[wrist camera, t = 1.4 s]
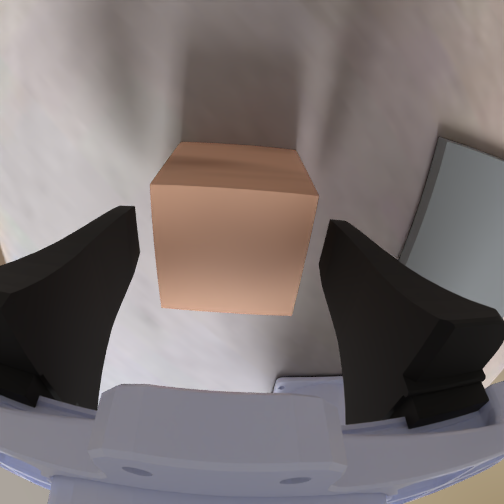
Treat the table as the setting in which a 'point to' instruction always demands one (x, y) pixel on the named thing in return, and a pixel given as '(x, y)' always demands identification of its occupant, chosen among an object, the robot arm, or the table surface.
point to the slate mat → (461, 225)
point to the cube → (231, 228)
